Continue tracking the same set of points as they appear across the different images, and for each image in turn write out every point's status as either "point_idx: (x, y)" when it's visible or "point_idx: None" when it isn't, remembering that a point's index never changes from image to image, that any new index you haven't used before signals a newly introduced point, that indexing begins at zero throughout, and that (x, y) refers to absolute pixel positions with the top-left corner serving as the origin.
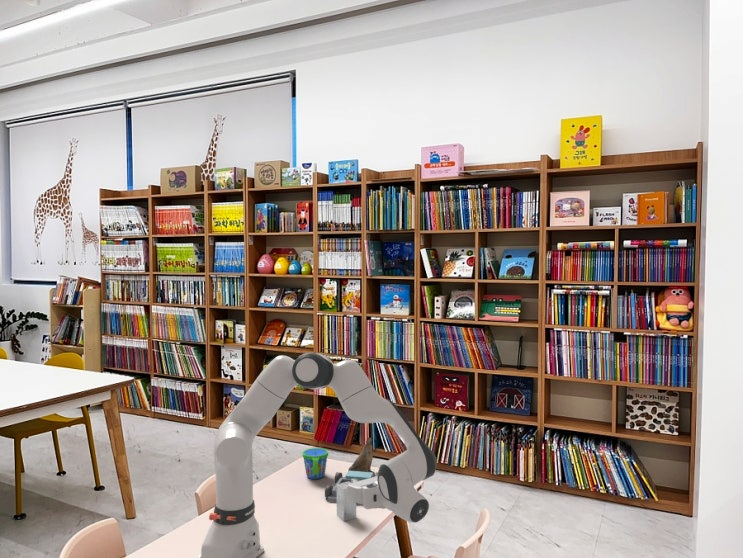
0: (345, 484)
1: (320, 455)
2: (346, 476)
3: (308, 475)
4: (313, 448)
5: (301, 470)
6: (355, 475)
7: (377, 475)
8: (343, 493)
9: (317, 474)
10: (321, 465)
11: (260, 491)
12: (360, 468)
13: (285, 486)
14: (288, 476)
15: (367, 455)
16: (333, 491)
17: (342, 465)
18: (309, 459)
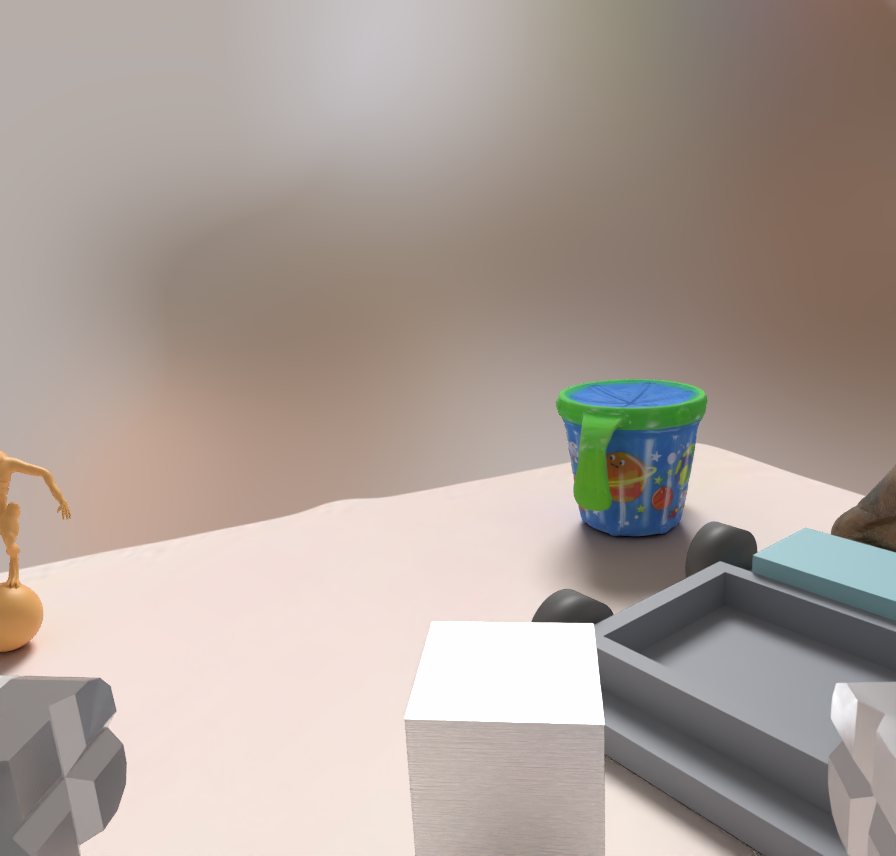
0: (511, 652)
1: (635, 407)
2: (760, 562)
3: (580, 509)
4: (643, 380)
5: None
6: (831, 570)
7: (880, 800)
8: (410, 764)
9: (621, 512)
10: (644, 467)
11: (309, 533)
12: None
13: (435, 537)
14: (509, 496)
15: None
16: None
17: (821, 499)
18: (574, 422)
